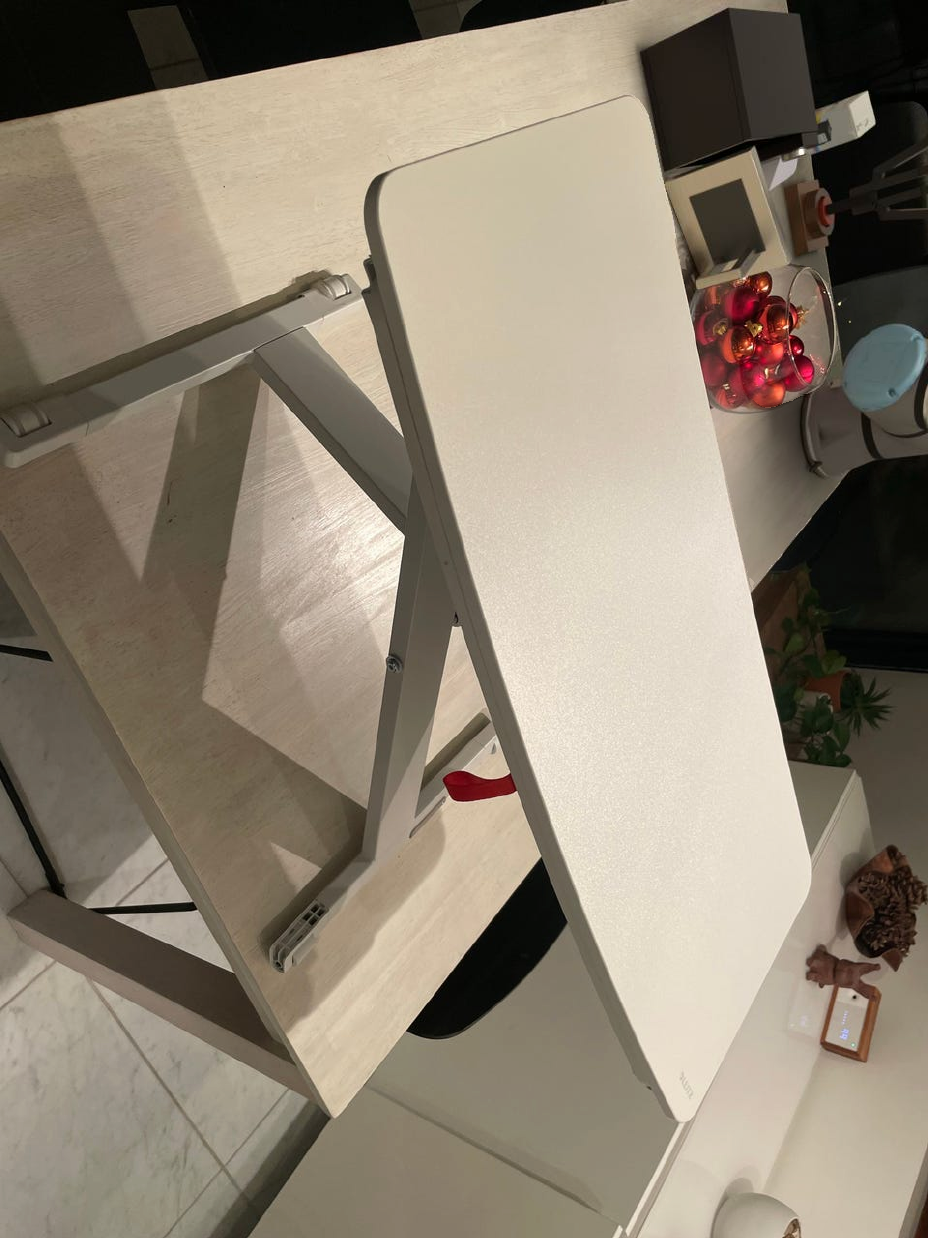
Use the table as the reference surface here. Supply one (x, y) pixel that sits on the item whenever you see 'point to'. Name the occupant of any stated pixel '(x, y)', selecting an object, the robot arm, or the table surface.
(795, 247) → the box
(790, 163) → the wedge on round base
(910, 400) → the robot arm
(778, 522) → the table surface
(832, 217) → the button
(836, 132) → the ink box
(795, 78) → the box
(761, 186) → the door
